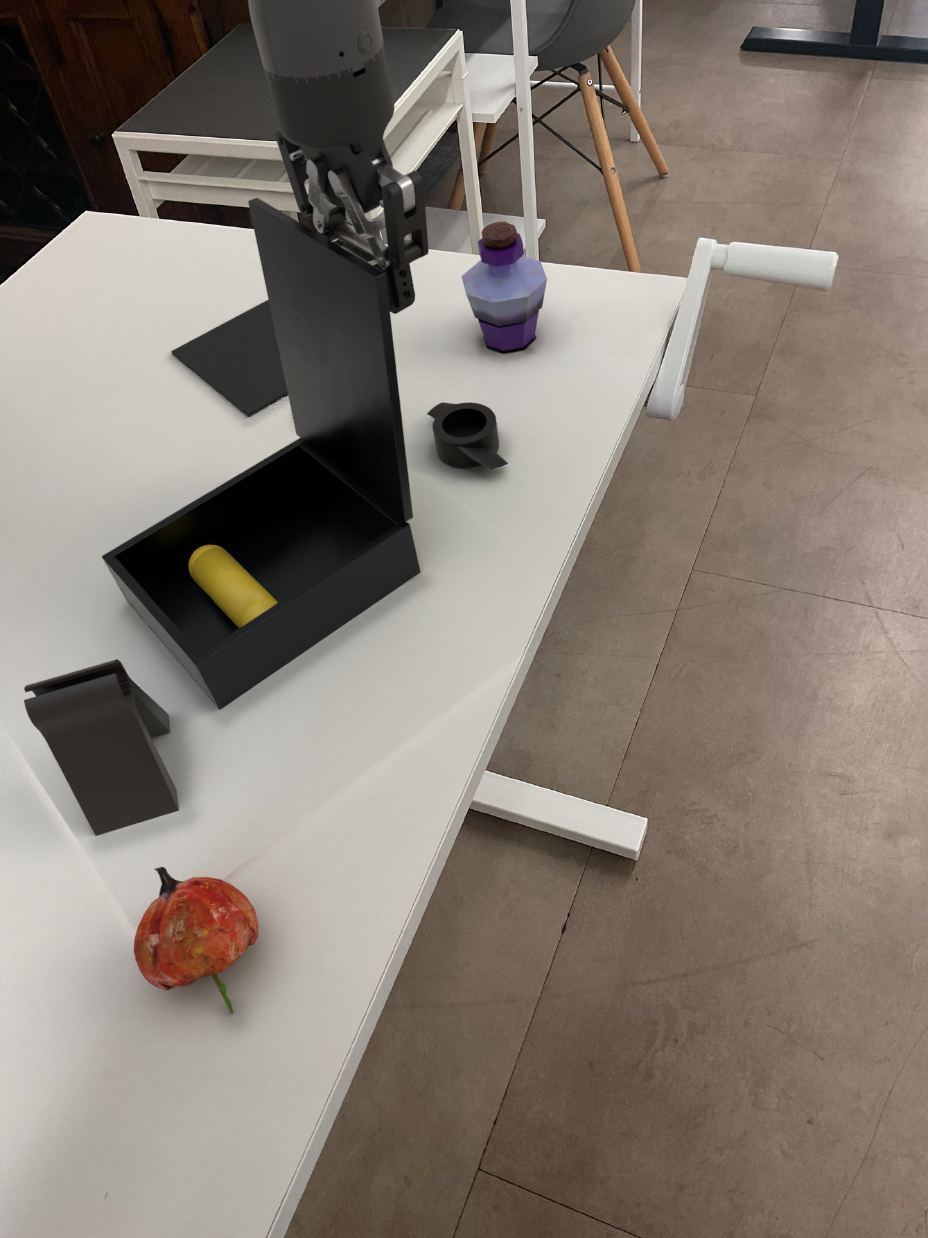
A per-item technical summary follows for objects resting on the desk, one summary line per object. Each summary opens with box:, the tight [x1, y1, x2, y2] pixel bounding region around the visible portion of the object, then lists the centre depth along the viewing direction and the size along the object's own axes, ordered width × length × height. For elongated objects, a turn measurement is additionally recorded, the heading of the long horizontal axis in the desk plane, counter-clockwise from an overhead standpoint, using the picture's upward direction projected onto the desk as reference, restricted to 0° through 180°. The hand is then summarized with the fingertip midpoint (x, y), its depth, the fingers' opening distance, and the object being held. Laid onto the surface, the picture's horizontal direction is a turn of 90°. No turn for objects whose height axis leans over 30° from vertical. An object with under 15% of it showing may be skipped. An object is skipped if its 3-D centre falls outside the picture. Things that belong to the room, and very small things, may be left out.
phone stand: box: [23, 658, 180, 837], centre depth 70 cm, size 9×6×12 cm, turn 15°
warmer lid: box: [247, 197, 414, 522], centre depth 76 cm, size 20×16×5 cm
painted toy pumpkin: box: [133, 866, 259, 1015], centre depth 62 cm, size 7×7×10 cm
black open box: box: [101, 437, 422, 711], centre depth 82 cm, size 20×16×6 cm
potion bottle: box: [460, 221, 548, 355], centre depth 99 cm, size 9×9×12 cm
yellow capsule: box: [189, 545, 278, 628], centre depth 81 cm, size 4×12×4 cm, turn 40°
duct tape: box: [426, 401, 509, 470], centre depth 92 cm, size 8×10×3 cm
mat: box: [170, 299, 288, 418], centre depth 107 cm, size 16×16×1 cm
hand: (373, 290), depth 74 cm, fingers closed on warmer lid, 6 cm apart
